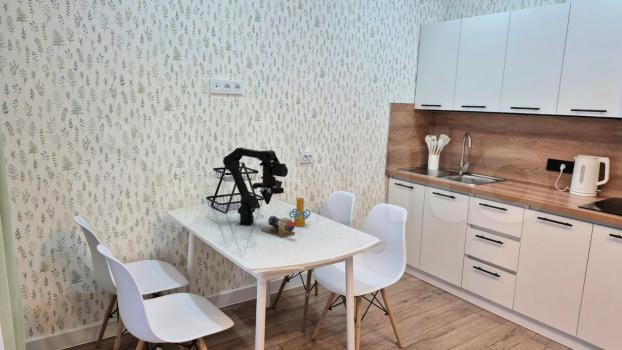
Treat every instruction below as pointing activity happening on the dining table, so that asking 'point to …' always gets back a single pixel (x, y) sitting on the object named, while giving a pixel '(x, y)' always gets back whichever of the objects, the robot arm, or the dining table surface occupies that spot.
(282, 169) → the robot arm
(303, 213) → the orange post with rings
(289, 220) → the valve
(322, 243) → the dining table surface
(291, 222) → the lever
